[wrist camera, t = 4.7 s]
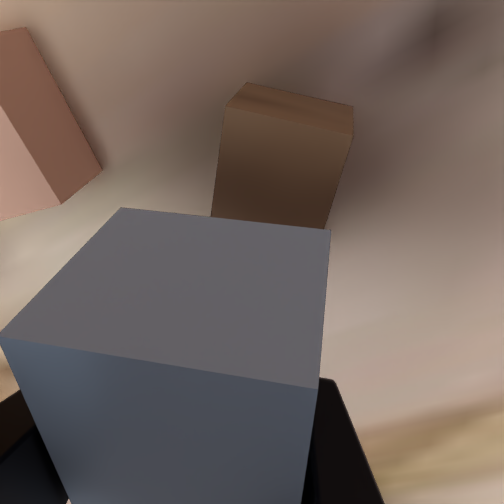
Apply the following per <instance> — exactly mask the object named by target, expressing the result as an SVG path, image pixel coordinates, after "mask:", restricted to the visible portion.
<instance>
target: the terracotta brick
mask: <svg viewBox="0 0 504 504" xmlns="http://www.w3.org/2000/svg"><path fill="white" fill-rule="evenodd" d="M102 171H103V170H102V169H101V167H100V165H99V163H98V161H97V159H96V157H95V155H94V154H93V152H92V150H91V148H90V146H89V144H88V142H87V140H86V139H85V137H84V135H83V133H82V131H81V129H80V127H79V126H78V124H77V122H76V120H75V118H74V116H73V114H72V112H71V111H70V109H69V107H68V105H67V103H66V101H65V99H64V97H63V96H62V94H61V92H60V90H59V88H58V86H57V84H56V82H55V81H54V79H53V77H52V75H51V73H50V71H49V69H48V68H47V66H46V64H45V62H44V60H43V58H42V56H41V54H40V53H39V51H38V49H37V47H36V45H35V43H34V41H33V39H32V38H31V36H30V34H29V32H28V30H27V28H26V27H24V28H19V29H13V30H8V31H3V32H0V221H1V220H5V219H9V218H13V217H16V216H20V215H24V214H28V213H31V212H35V211H39V210H43V209H46V208H50V207H54V206H58V205H61V204H62V203H64V202H65V201H66V200H67V199H69V198H70V197H71V196H72V195H73V194H75V193H76V192H77V191H78V190H80V189H81V188H82V187H83V186H84V185H86V184H87V183H88V182H89V181H91V180H92V179H93V178H94V177H95V176H97V175H98V174H99V173H100V172H102Z"/></svg>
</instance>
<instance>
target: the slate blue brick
mask: <svg viewBox="0 0 504 504" xmlns="http://www.w3.org/2000/svg"><path fill="white" fill-rule="evenodd" d="M330 238H331V230H325V229H316V228H307V227H297V226H288V225H279V224H270V223H260V222H251V221H242V220H233V219H224V218H214V217H205V216H196V215H187V214H177V213H168V212H159V211H150V210H140V209H131V208H122V207H121V208H120V209H119V210H118V211H117V212H116V213H115V214H114V215H113V216H112V217H111V218H110V219H109V220H108V221H107V222H106V223H105V224H104V225H103V226H102V227H101V228H100V229H99V230H98V232H97V233H96V234H95V235H94V236H93V237H92V238H91V239H90V240H89V241H88V242H87V243H86V244H85V245H84V246H83V247H82V248H81V249H80V250H79V251H78V252H77V253H76V254H75V255H74V256H73V257H72V258H71V259H70V260H69V261H68V263H67V264H66V265H65V266H64V267H63V268H62V269H61V270H60V271H59V272H58V273H57V274H56V275H55V276H54V277H53V278H52V279H51V280H50V281H49V282H48V283H47V284H46V285H45V286H44V287H43V288H42V289H41V290H40V291H39V293H38V294H37V295H36V296H35V297H34V298H33V299H32V300H31V301H30V302H29V303H28V304H27V305H26V306H25V307H24V308H23V309H22V310H21V311H20V312H19V313H18V314H17V315H16V316H15V317H14V318H13V319H12V320H11V321H10V322H9V324H8V325H7V326H6V327H5V328H4V329H3V330H2V331H1V332H0V345H1V347H2V350H3V352H4V354H5V356H6V359H7V361H8V363H9V365H10V367H11V370H12V372H13V374H14V376H15V379H16V381H17V383H18V385H19V388H20V390H21V392H22V394H23V397H24V399H25V401H26V403H27V405H28V408H29V410H30V412H31V414H32V417H33V419H34V421H35V423H36V426H37V428H38V430H39V432H40V435H41V437H42V439H43V441H44V443H45V446H46V448H47V450H48V452H49V455H50V457H51V459H52V461H53V464H54V466H55V468H56V470H57V472H58V475H59V477H60V479H61V481H62V484H63V486H64V488H65V490H66V493H67V495H68V497H69V499H70V502H71V504H301V499H302V493H303V486H304V479H305V473H306V466H307V460H308V453H309V446H310V440H311V433H312V427H313V420H314V414H315V407H316V400H317V394H318V385H319V373H320V361H321V348H322V336H323V324H324V311H325V299H326V287H327V275H328V262H329V250H330Z"/></svg>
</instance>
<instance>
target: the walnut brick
mask: <svg viewBox="0 0 504 504" xmlns="http://www.w3.org/2000/svg"><path fill="white" fill-rule="evenodd" d="M353 136H354V135H353V107H352V106H348V105H343V104H339V103H334V102H330V101H326V100H321V99H317V98H313V97H308V96H304V95H300V94H295V93H291V92H286V91H282V90H278V89H273V88H269V87H265V86H260V85H256V84H252V83H246V84H245V85H244V86H243V87H242V88H241V89H240V91H239V92H238V93H237V94H236V95H235V96H234V97H233V98H232V99H231V100H230V101H229V102H228V104H227V105H226V106H225V112H224V119H223V127H222V134H221V142H220V150H219V157H218V165H217V172H216V180H215V188H214V195H213V203H212V210H211V217H214V218H224V219H233V220H242V221H251V222H260V223H270V224H279V225H288V226H297V227H307V228H316V229H324V227H325V224H326V221H327V218H328V215H329V212H330V209H331V205H332V202H333V199H334V196H335V193H336V190H337V186H338V183H339V180H340V177H341V174H342V171H343V167H344V164H345V161H346V158H347V155H348V152H349V149H350V145H351V142H352V139H353Z"/></svg>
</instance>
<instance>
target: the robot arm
mask: <svg viewBox="0 0 504 504" xmlns="http://www.w3.org/2000/svg"><path fill="white" fill-rule="evenodd" d="M68 499H69V497H68V495H67V493H66V490H65V488H64V486H63V484H62V481H61V479H60V477H59V475H58V472H57V470H56V468H55V466H54V464H53V461H52V459H51V457H50V455H49V452H48V450H47V448H46V446H45V443H44V441H43V439H42V437H41V435H40V432H39V430H38V428H37V426H36V423H35V421H34V419H33V417H32V414H31V412H30V410H29V408H28V405H27V403H26V401H25V399H24V397H23V394H22V392H21V390H18V391H17V392H15V393H14V394H12V395H11V396H9V397H8V398H6V399H5V400H3V401H2V402H0V504H66V503H67V501H68ZM301 504H385V503H384V501H383V498H382V496H381V493H380V491H379V488H378V486H377V483H376V481H375V478H374V476H373V473H372V471H371V468H370V466H369V464H368V461H367V459H366V456H365V454H364V451H363V449H362V446H361V444H360V441H359V439H358V436H357V434H356V431H355V429H354V426H353V424H352V421H351V419H350V417H349V414H348V412H347V409H346V407H345V404H344V402H343V399H342V397H341V394H340V392H339V389H338V387H337V384H336V383H335V381H334V380H332V379H327V378H321V377H319V385H318V394H317V400H316V407H315V414H314V420H313V427H312V433H311V440H310V446H309V453H308V460H307V466H306V473H305V479H304V486H303V493H302V499H301Z"/></svg>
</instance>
